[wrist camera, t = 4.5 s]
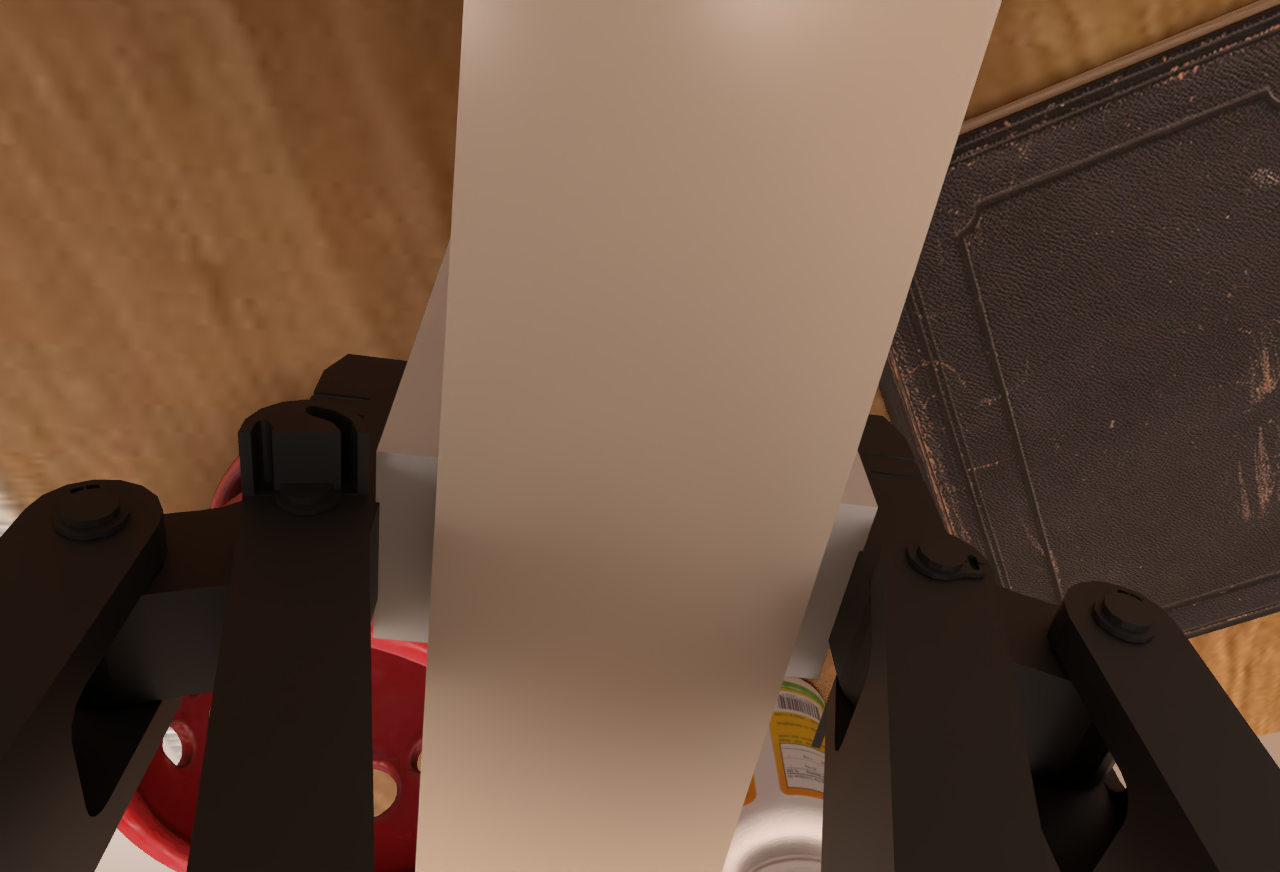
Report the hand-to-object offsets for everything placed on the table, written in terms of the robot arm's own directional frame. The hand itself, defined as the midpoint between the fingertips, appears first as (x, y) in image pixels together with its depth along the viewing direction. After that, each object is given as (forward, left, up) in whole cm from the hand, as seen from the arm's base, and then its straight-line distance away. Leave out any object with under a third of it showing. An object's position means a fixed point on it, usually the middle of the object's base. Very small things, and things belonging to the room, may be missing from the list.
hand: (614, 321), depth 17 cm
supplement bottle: (+25, +10, -15) cm, 31 cm away
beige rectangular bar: (0, 0, +3) cm, 3 cm away
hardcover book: (+7, +19, -16) cm, 26 cm away
